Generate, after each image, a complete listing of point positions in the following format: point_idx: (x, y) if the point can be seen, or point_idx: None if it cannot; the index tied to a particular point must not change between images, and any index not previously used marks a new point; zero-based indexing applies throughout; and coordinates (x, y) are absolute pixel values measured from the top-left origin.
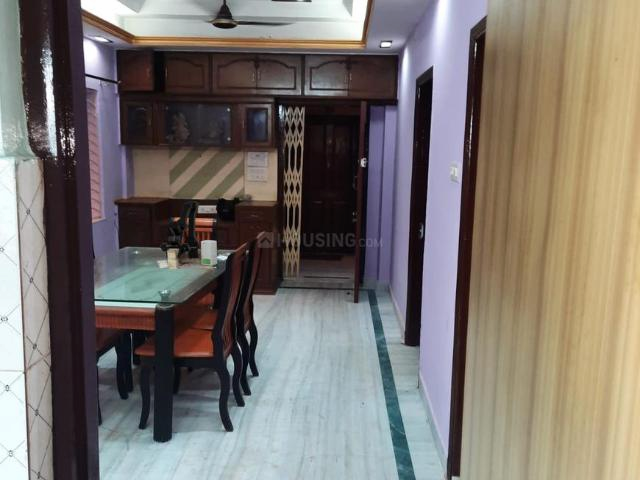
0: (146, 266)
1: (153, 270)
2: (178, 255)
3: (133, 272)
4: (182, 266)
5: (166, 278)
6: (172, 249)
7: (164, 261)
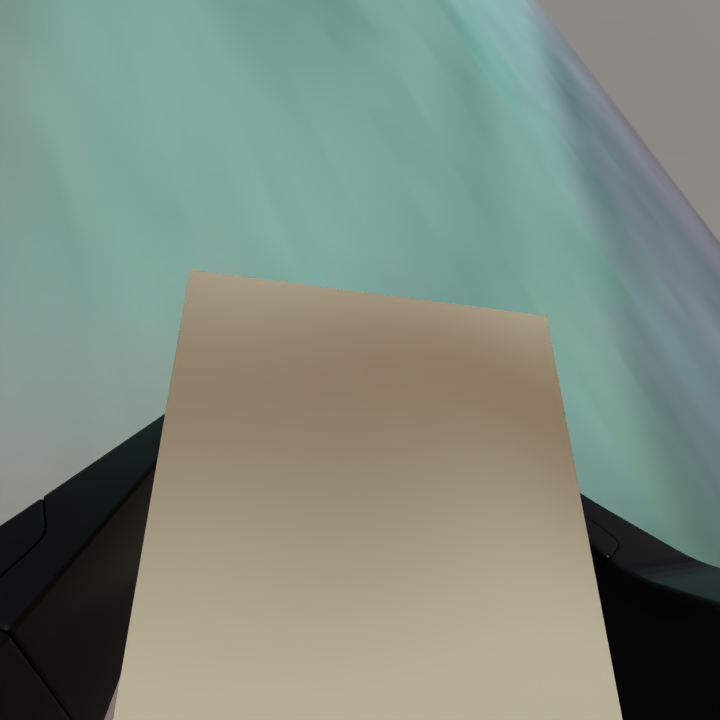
0: None
1: None
2: (135, 435)
3: (590, 280)
4: None
5: (211, 20)
6: (429, 554)
7: None
